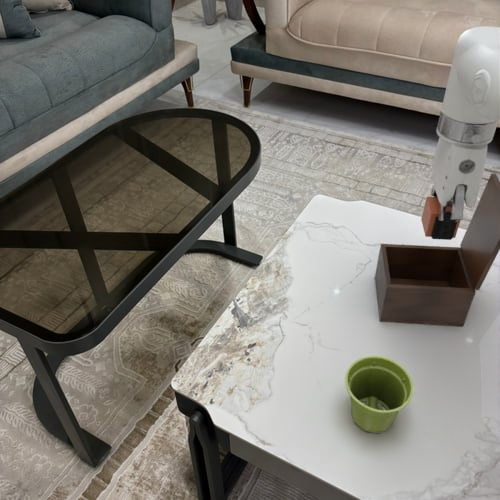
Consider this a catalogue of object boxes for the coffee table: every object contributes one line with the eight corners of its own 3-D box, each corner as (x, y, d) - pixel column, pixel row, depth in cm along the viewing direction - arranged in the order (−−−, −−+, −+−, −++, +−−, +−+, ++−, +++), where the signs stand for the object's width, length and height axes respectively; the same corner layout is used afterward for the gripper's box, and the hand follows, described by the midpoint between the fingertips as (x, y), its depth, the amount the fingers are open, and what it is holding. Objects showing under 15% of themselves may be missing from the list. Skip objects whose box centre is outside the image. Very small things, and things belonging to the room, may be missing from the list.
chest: (379, 321, 91) (386, 287, 85) (374, 277, 99) (380, 243, 94) (463, 326, 89) (476, 291, 83) (450, 281, 98) (461, 247, 92)
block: (449, 220, 83) (456, 197, 80) (455, 238, 79) (462, 214, 76) (421, 219, 83) (426, 196, 80) (425, 236, 80) (431, 213, 77)
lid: (511, 215, 73) (543, 219, 73) (491, 173, 82) (519, 176, 82) (474, 289, 83) (502, 293, 83) (459, 245, 92) (485, 248, 92)
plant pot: (370, 456, 71) (379, 424, 66) (327, 408, 78) (332, 375, 72) (416, 423, 75) (428, 389, 70) (372, 379, 81) (379, 345, 76)
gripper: (512, 156, 63) (474, 264, 74) (480, 99, 75) (452, 198, 87) (450, 154, 63) (422, 261, 75) (429, 98, 76) (407, 197, 88)
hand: (438, 226), depth 81 cm, fingers closed on block, 4 cm apart
